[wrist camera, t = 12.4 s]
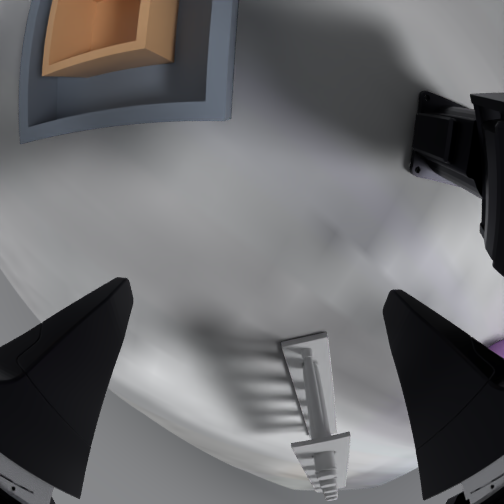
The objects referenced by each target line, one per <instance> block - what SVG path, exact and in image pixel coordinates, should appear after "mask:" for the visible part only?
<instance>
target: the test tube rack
mask: <svg viewBox="0 0 504 504" xmlns="http://www.w3.org/2000/svg"><path fill="white" fill-rule="evenodd" d="M281 346H282V350H283V353H284V356H285V359H286V363H287V366H288V369H289V372H290V375H291V379H292V382H293V385H294V388H295V391H296V394H297V398H298V401H299V404H300V407H301V410H302V414H303V417H304V420H305V423H306V426H307V430H308V433H309V436H310V438H311V439H312V440H307V441H302V442H295V443H291V447H292V449H293V451H294V453H295V455H296V457H297V459H298V461H299V462H300V464H301V466H302V468H303V470H304V471H305V473H306V475H307V477H308V478H309V480H310V482H311V484H312V485H313V487H314V489H315V491H316V492H323V494H324V495H325V498H326V501H331V500H336V499H338V497H337V496H338V494H337V492H338V490H337V489H339V488H343V487H345V486H346V478H347V469H348V460H349V448H350V432H345V433H341V434H337V435H333V436H331V434H334V433H337V425H336V411H335V399H334V388H333V377H332V368H331V359H330V350H329V341H328V335H327V332H324V333H320V334H315V335H311V336H307V337H302V338H297V339H293V340H288V341H283V342H281Z"/></svg>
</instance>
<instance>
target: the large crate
mask: <svg viewBox="0 0 504 504" xmlns="http://www.w3.org/2000/svg"><path fill="white" fill-rule="evenodd" d="M238 4H239V0H180V1H179V9H178V19H177V29H176V42H175V56H174V63H167V64H158V65H150V66H143V67H137V68H131V69H125V70H120V71H115V72H110V73H105V74H101V75H96V76H92V77H88V78H81V77H59V76H42V66H43V55H44V46H45V38H46V31H47V25H48V20H49V14H50V9H51V5H52V0H32V2H31V6H30V10H29V15H28V19H27V24H26V30H25V35H24V42H23V49H22V57H21V66H20V80H19V134H20V144H23V143H27V142H31V141H35V140H39V139H43V138H48V137H52V136H57V135H62V134H67V133H73V132H78V131H84V130H90V129H97V128H104V127H112V126H120V125H130V124H141V123H154V122H171V121H226V120H229V119H231V112H232V93H233V75H234V59H235V44H236V30H237V17H238Z"/></svg>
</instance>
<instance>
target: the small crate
mask: <svg viewBox="0 0 504 504" xmlns="http://www.w3.org/2000/svg"><path fill="white" fill-rule="evenodd" d="M179 1H180V0H52V5H51V9H50V14H49V20H48V25H47V31H46V38H45V46H44V55H43V66H42V76H59V77H81V78H88V77H92V76H96V75H101V74H105V73H110V72H115V71H120V70H125V69H131V68H137V67H143V66H150V65H158V64H167V63H174V56H175V42H176V29H177V19H178V9H179Z"/></svg>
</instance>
